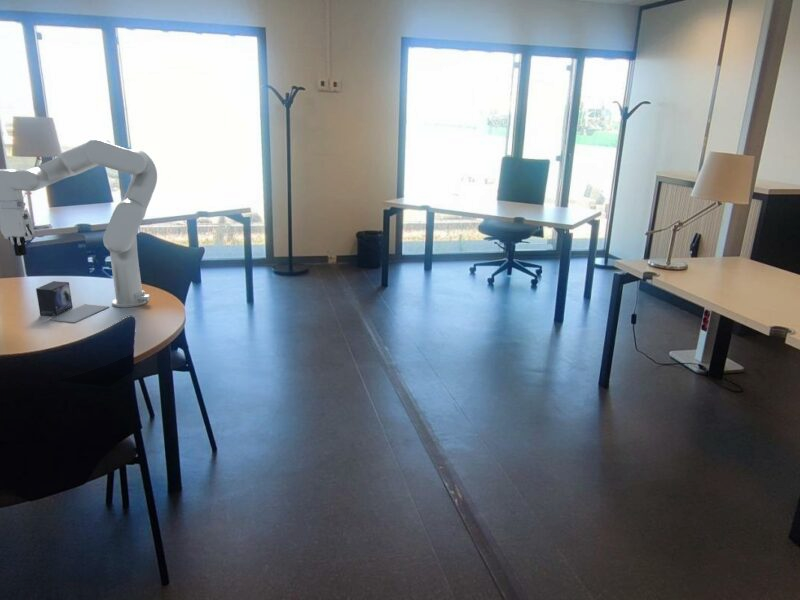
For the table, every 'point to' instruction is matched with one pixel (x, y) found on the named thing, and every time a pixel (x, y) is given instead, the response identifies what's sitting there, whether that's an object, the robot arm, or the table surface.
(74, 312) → the mat
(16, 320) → the table surface
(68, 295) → the small box
